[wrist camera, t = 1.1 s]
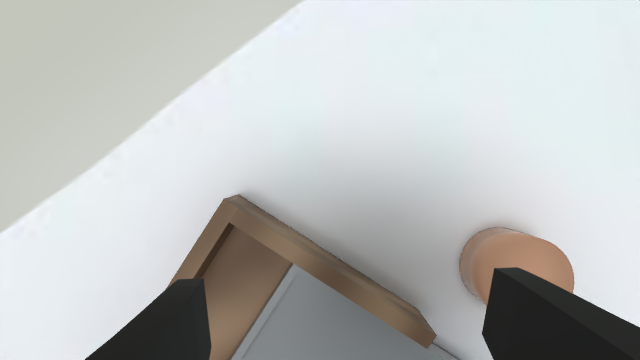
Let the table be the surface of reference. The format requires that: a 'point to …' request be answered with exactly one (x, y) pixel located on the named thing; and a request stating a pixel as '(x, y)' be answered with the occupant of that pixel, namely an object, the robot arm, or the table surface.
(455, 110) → the table surface
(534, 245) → the tan short cylinder
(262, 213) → the housing
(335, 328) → the tray
